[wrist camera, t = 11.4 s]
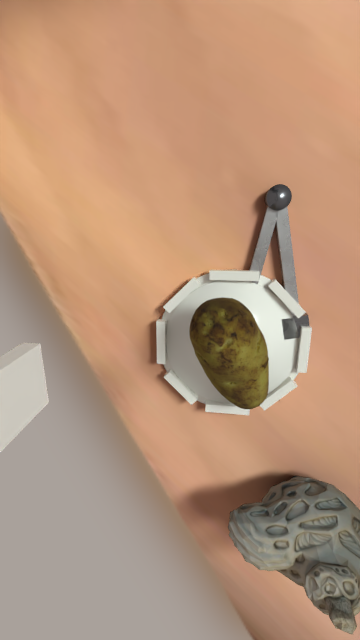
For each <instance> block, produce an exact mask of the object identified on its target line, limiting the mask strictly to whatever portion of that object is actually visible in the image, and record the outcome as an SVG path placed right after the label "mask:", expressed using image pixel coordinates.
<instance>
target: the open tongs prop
mask: <svg viewBox="0 0 360 640" xmlns="http://www.w3.org/2000/svg"><path fill="white" fill-rule="evenodd" d="M291 197H292V195H291V191H290V189H289V188H288V187H287V186H285V185H282V184H279V185H275V186H273V187H272V188H271V189H270V190H269V191H268V192H267V193H266V196H265V204H266V206H267V208H266V212H265V215H264V219H263V223H262V226H261V230H260V233H259V237H258V240H257V244H256V248H255V251H254V255H253V258H252V262H251V265H250V269H249V270H250V271H259V278H260V275H261V272H262V268H263V265H264V261H265V258H266V254H267V251H268V248H269V244H270V241H271V237H272V234H273V230H274V227H275V225H276V233H277V241H278V248H279V256H280V264H281V272H282V280H283V288H284V289H285V290H286V291H287V292H288V293H289V294H290V296H291V297H292V298H293V299H294V300H295V301H296V302H297V303H298V294H297V285H296V277H295V268H294V260H293V251H292V243H291V234H290V226H289V217H288V209H287V206H288V205H289V203H290V201H291ZM248 282H252V283H255V284H258V282H259V281H248ZM298 304H299V303H298ZM287 308H288V307H287ZM288 309H289V308H288ZM289 311H290V312H291V314H292V316H293V318H294V321H293V322H295V323H294V324H296V325H294V326H295V327H293V326H289V325H290V324H292V320H293V319H291V318H288V319H285V320H288V321H289V322H290V323H288V324H287V327H288V326H289V328H290V327H293V328H291V329H294V330H297V331H295V332H294V331H293V332H294V333H297V332H298V333H297V334H298V336H297V337H298V338H300V330H301V326H308V327H309V318H308V315H307V314H306V313H305V314H303V315H302V316H301V317H300V318H297V316H296V315H295V314H294V313H293V312H292V311H291V310H290V309H289ZM289 319H290V320H291V321H290V320H289ZM283 322H286V323H287V321H284V320H282V323H283ZM283 324H284V326H285V323H283ZM283 324H282V325H283ZM292 325H293V324H292ZM284 326H282V327H284ZM296 327H297V329H296ZM284 329H286V326H285V328H284ZM287 330H288V328H287ZM289 330H290V329H289ZM289 330H288V331H289ZM285 331H286V330H284V331H283V332H285ZM290 331H291V330H290ZM290 331H289V332H288V333H289V334H288V335H291V336H292V335H293V334H294V333H293V334H292V332H290ZM283 334H284V333H283ZM294 336H295V335H294ZM284 337H285V338H286V337H287V338H288V337H289V338H288V339H291V338H290V336H284ZM292 337H293V336H292ZM297 337H296V338H297ZM285 338H284V340H286V339H285ZM292 339H293V338H292Z"/></svg>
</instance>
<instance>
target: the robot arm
mask: <svg viewBox="0 0 360 640" xmlns="http://www.w3.org/2000/svg"><path fill="white" fill-rule="evenodd" d="M48 403H49V399H48V392H47V386H46V379H45V372H44V366H43V359H42V352H41V346H40V344H37V343H22V344H20V345H19V346H17V347H15V348H14V349H12V350H11V351H9V352H7V353H5V354H4V355H2V356H0V452H1V451H2V450H3V449H4V448H5V447H6V446H7V445H8V444H9V443H10V442H11V441H12V440H13V439H14V438H15V437H16V436H17V435H18V434H19V433H20V432H21V431H22V429H24V428H25V427H26V426H27V425H28V423H29V422H31V421H32V419H33V418H34V417H35V416H36V415H37V414H38V413H39V412H40V411H41V410H42V409H43V408H44V407H45V406H46V405H47V404H48Z"/></svg>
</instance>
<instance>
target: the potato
mask: <svg viewBox="0 0 360 640" xmlns="http://www.w3.org/2000/svg"><path fill="white" fill-rule="evenodd" d="M189 334H190V340H191V343H192V345H193V348H194V351H195V355H196V357H197V358H198V360H199V362H200V364H201V366H202V368H203V370H204V372H205V374H206V375H207V377H208V378H209V380H210V381H211V383H212V384H213V386H214V387H215V388H216V389H217V390H218V392H219V393H220V394H221V395H222V396H223V397H225V398H226V399H227V400H228V401H229V402H231V403H232V404H234V405H235V406H237V407H239V408H242V409H253V408H255V407H258V406H259V405H261V404H262V403H263V402H264V400H265V399H266V397H267V395H268V387H269V363H268V361H269V358H268V350H267V345H266V341H265V338H264V335H263V334H262V332H261V330H260V329H259V327H258V325H257V323H256V321H255V319H254V317H253V315H252V313H251V312H250V310H249V309H248V308H247V307H246V306H245V305H244V304H242V303H241V302H240V301H238V300H236V299H233V298H224V297H222V298H214V299H210V300H207V301H205V302H204V303H202V304H201V305H200V306H199V307H198V308H197V309H196V310H195V313H194V315H193V317H192V319H191V323H190V329H189Z"/></svg>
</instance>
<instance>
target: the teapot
mask: <svg viewBox="0 0 360 640" xmlns="http://www.w3.org/2000/svg"><path fill="white" fill-rule="evenodd" d="M228 529H229V531H230V533H229V536H230V537H231V539H232V540H233V542H234V546H235V547H236V548H237V549H238V550H239V551H240V552H241V554H242V555H243V557H244V559H245V561H246V562H248V563H251V564H253V565H254V566H256V567H257V568H258V569H259V570H267V571H273V570H277V571H278V572H280V573H282V574H283V575H285V576H286V577H288V578H289V579H290V580H292V581H293V582H295V583H296V584H298V585H300V586H303V587H304V589H305V592H306V594H307V596H308V598H309V599H310V600H311V601H312V603H313V604H314V606H315V607H317V608H318V609H319V610H320V611H322V612H323V613H324V614H327V615H329V617H330V619H331V621H332V623H333V624H334V626H335V628H337V629H340V630H342V631H345V632H347V633H349V634H353V632H354V631H355V629H356V627H357V625H356V621H355V617H354V616H355V615H356V614H358V613H359V612H360V510H359V509H358V508H357V507H356V506H355V504H354V503H353V502H352V501H351V500H350V499H349V498H348V497H347V496H346V495H345V494H344V493H342V492H341V491H339V490H338V489H337V488H336V487H335V486H333V485H331V484H328V483H325V482H322V481H319V480H315V479H311V478H305V477H300V476H294V477H292V478H291V479H290V480H289V481H284V482H281V483H279V484H278V485H275V486H272V487H271V488H270V490H269V492H268V493H267V494H266V495H265V496H264V498H263V499H262V503H257V502H256V503H250V504H243V505H242V506H240V507H239V508H238V509H236V510H233V511H232V512H230V520H229V526H228Z"/></svg>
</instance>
